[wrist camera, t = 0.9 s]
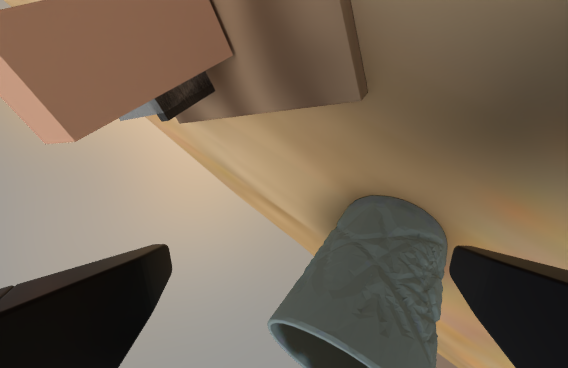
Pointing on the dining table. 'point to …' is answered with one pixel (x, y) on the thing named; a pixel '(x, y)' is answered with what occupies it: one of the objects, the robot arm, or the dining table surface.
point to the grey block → (175, 99)
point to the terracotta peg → (100, 59)
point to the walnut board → (282, 58)
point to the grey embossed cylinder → (368, 291)
